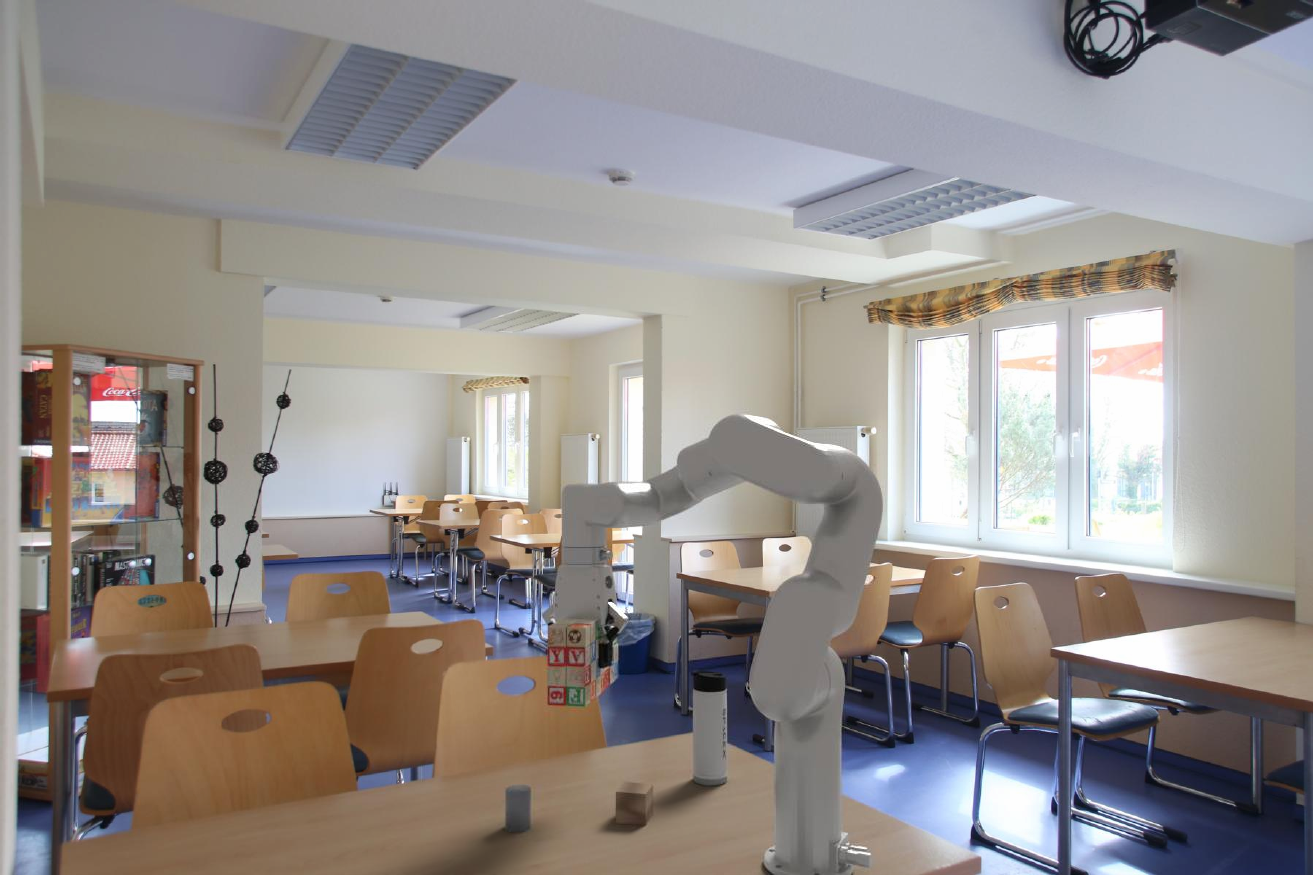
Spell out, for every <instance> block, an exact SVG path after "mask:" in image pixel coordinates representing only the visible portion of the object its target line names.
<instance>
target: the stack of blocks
mask: <svg viewBox="0 0 1313 875" xmlns="http://www.w3.org/2000/svg"><path fill="white" fill-rule="evenodd" d="M614 626H615V625H611V627H612V628H613V627H614ZM600 643H602V641H601V639H600V637H599V635H598V624H597V620H583V619H571V618H564V619H562V620H561V621H559V622H557V623H555V624H552V625H550V626H548V625H547V651H546V652H547V653H546V655H547V656H546V657H547V663H546V664H547V688H546V689H547V705H548V706H553V707H554V706H557V707H561V706H562V707H566V706H567V707H581V708H582V707H584V708H585V707H587V705H589V704H590V703H592V702H593V701H594V700H595V699H596V698H598V697H599V696H600V695H601V694H602V692H603V691H605V690H606V689H607V688H608V687H610V685H612V684H613V683H614V682H616V681H617V679H618V678H619V643H618V637H617V638H616V640H615V641H613V660H612V664H611V666H609V667H606V668H603V669H602V668H599V667H598V657H599V644H600Z"/></svg>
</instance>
